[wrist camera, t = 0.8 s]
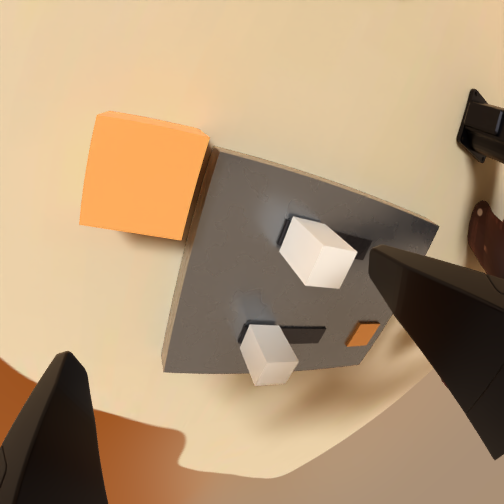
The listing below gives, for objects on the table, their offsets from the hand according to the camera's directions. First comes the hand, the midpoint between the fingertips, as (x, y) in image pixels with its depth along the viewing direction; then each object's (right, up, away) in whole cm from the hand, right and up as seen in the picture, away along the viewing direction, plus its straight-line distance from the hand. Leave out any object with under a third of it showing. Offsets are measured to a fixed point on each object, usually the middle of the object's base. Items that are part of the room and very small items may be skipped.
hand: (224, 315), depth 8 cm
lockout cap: (-6, +7, +9) cm, 13 cm away
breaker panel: (+5, -1, +18) cm, 19 cm away
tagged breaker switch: (+1, -5, +16) cm, 17 cm away
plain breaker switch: (+4, +3, +13) cm, 13 cm away
